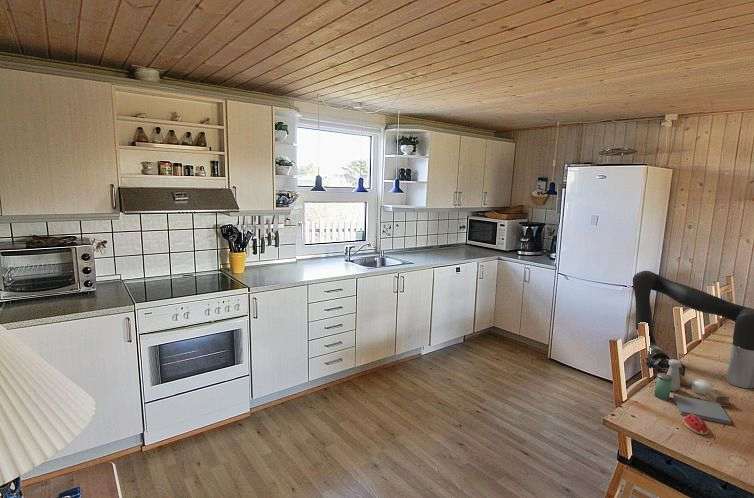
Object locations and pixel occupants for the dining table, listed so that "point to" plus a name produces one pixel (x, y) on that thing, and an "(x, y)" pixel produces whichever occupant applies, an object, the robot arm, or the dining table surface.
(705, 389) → the white dome
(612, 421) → the dining table surface
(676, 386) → the salt shaker
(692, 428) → the ladybug figurine
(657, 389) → the dark green jar
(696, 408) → the cutting board
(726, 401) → the brown wooden block
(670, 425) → the dining table surface
